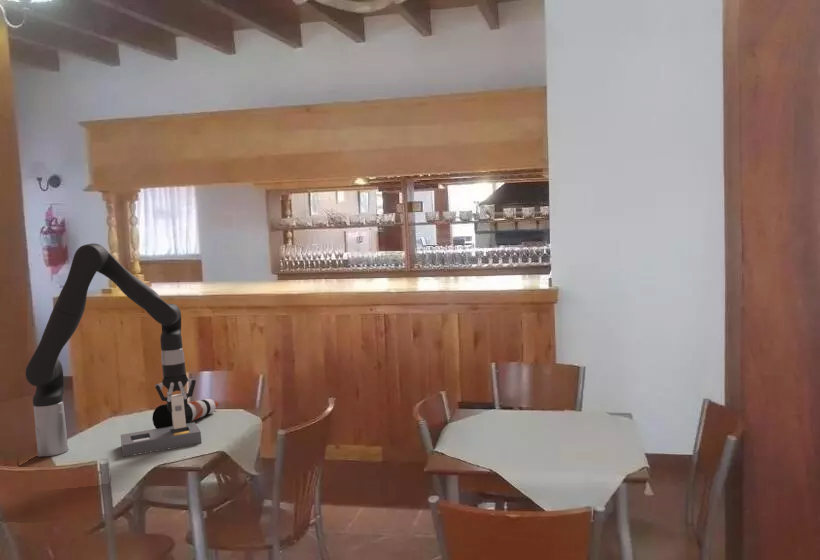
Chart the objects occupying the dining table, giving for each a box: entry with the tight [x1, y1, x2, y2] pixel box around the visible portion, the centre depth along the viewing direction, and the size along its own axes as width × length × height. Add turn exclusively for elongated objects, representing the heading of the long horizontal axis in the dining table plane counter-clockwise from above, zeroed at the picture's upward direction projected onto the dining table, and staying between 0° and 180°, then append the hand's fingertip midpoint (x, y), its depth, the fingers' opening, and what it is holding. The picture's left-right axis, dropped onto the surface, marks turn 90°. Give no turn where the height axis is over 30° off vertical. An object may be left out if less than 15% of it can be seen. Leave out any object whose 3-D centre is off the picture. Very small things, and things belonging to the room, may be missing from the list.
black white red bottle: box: [151, 398, 219, 429], centre depth 280 cm, size 10×34×10 cm, turn 161°
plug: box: [171, 393, 186, 429], centre depth 254 cm, size 4×5×11 cm
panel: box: [120, 421, 203, 457], centre depth 253 cm, size 25×14×4 cm, turn 114°
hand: (178, 410), depth 255 cm, fingers closed on plug, 4 cm apart
